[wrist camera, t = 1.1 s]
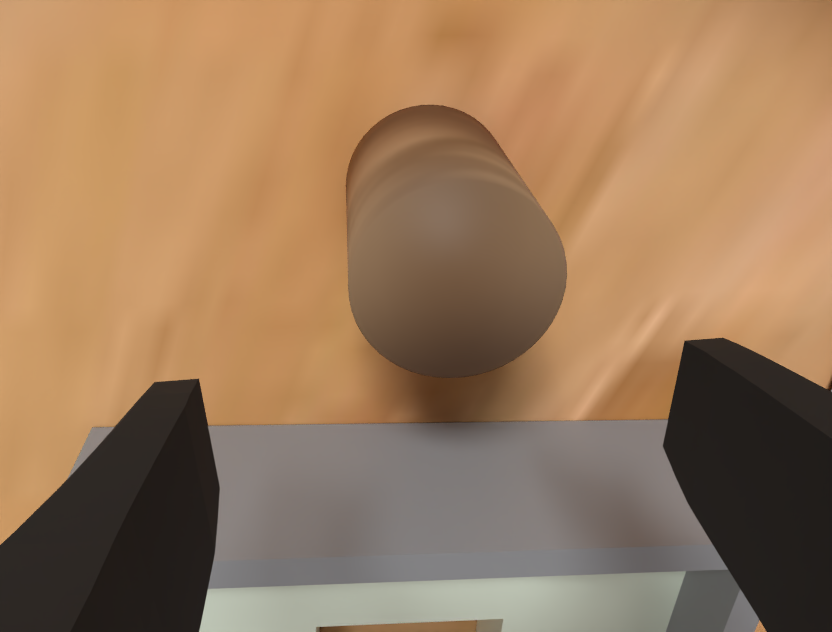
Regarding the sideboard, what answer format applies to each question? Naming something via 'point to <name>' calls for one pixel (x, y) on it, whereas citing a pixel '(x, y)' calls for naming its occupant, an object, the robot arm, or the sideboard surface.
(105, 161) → the sideboard surface
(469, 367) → the peg
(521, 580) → the socket box
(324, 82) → the sideboard surface
